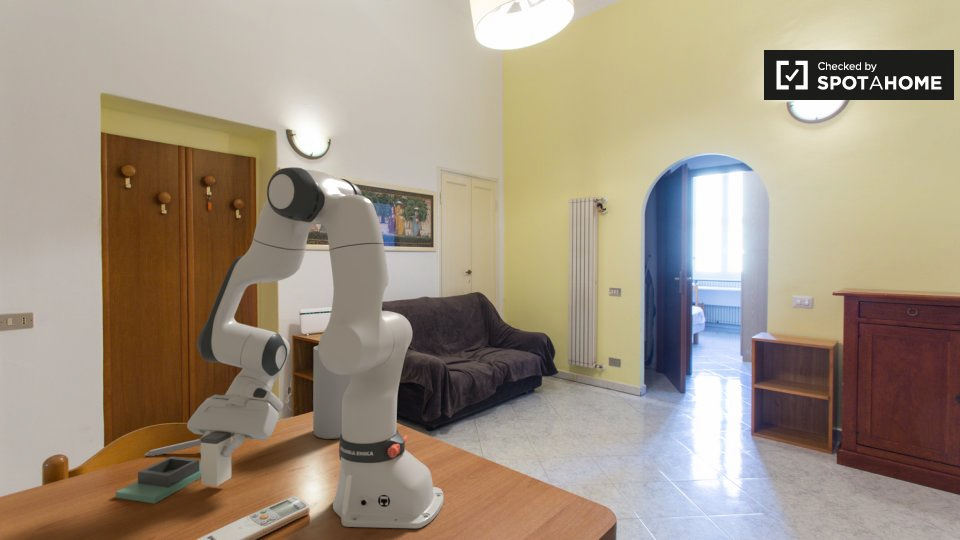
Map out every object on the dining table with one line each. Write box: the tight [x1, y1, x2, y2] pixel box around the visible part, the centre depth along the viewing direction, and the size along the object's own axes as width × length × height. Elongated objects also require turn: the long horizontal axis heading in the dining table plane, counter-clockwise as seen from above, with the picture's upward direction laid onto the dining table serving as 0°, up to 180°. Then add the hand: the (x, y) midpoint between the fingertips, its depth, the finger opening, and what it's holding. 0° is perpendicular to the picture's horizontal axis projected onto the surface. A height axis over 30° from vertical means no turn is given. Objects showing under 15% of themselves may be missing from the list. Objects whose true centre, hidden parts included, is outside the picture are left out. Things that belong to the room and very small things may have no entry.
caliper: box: [143, 436, 233, 457], centre depth 116 cm, size 20×1×6 cm, turn 101°
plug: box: [200, 431, 232, 487], centre depth 97 cm, size 4×4×10 cm
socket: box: [115, 456, 201, 504], centre depth 100 cm, size 10×16×4 cm, turn 167°
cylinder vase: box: [312, 345, 353, 440], centre depth 131 cm, size 12×12×25 cm
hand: (213, 455), depth 97 cm, fingers closed on plug, 4 cm apart
